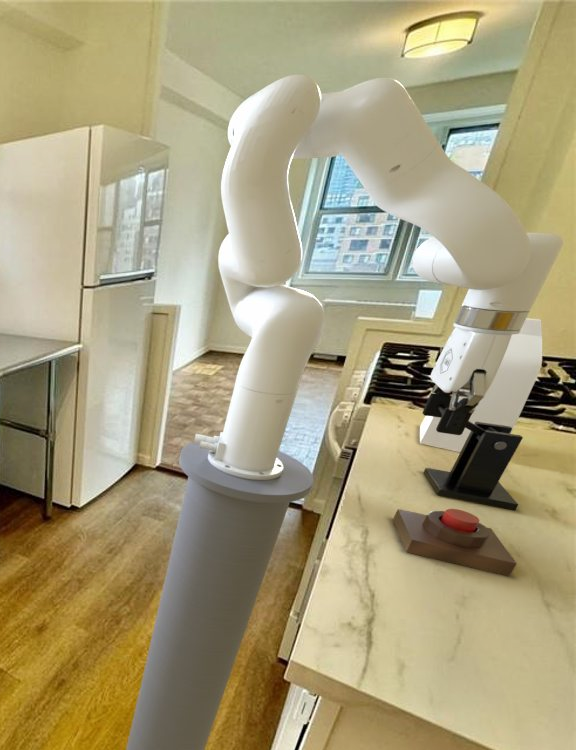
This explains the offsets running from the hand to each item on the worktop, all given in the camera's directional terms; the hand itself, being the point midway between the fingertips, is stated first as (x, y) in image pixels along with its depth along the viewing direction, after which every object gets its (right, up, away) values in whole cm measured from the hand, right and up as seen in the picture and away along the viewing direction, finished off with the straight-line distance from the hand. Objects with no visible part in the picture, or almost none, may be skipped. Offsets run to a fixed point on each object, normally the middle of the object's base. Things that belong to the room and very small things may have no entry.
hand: (440, 423), depth 82 cm
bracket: (+6, -12, +2) cm, 13 cm away
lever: (+3, -1, -1) cm, 4 cm away
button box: (-11, -19, -12) cm, 25 cm away
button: (-11, -15, -14) cm, 23 cm away
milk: (+23, -3, +20) cm, 30 cm away
